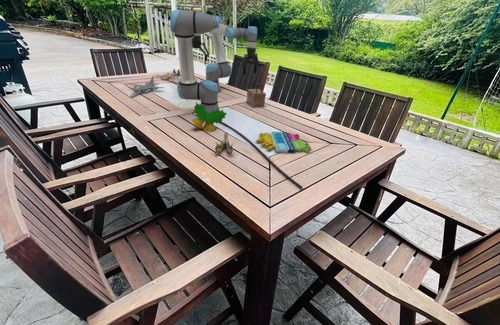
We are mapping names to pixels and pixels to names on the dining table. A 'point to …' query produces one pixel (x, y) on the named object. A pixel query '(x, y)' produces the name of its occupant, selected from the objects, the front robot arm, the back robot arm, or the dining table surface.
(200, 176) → the dining table surface
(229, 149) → the jawbone
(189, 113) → the dining table surface
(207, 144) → the dining table surface
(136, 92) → the airplane
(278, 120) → the dining table surface
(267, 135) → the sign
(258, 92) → the lid
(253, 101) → the chest
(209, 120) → the ornament
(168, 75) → the toy
